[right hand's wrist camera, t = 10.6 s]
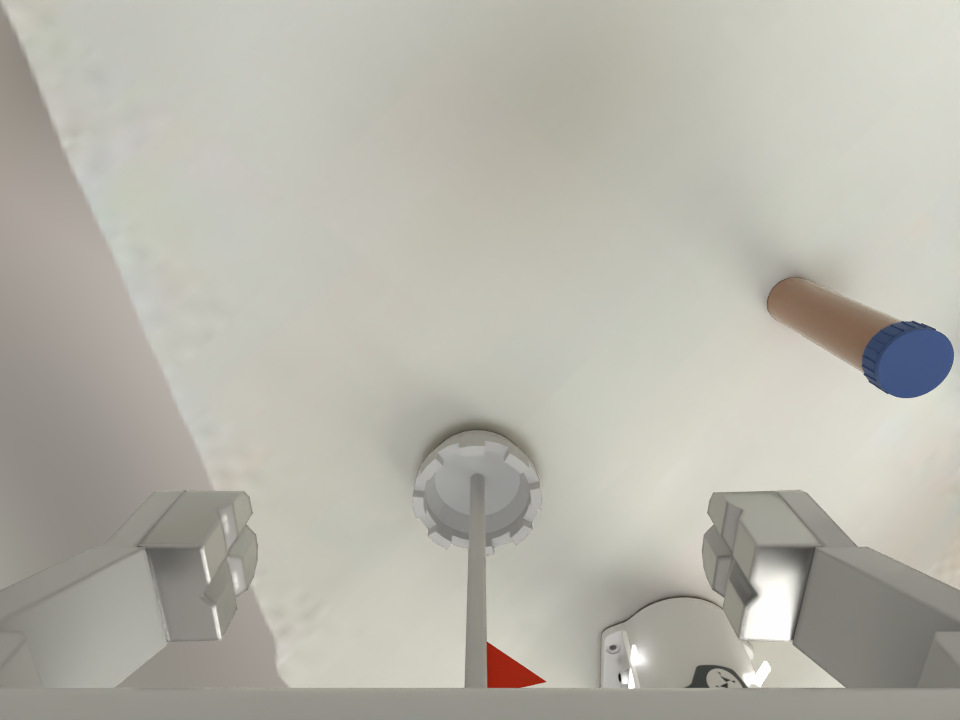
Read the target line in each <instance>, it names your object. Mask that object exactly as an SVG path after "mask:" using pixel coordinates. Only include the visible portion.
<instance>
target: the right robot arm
mask: <svg viewBox="0 0 960 720" xmlns="http://www.w3.org/2000/svg"><path fill="white" fill-rule="evenodd" d="M252 513H253V512H252V507H251V502H250V497H249V496H248V495H247V494H246V493H245V492H241V491H191V490H190V491H186V490H161V491H157V492H154V493H152V495H151V496H150V497H149V498H148V499H147V500H146V501H145V502H144V503H143V504H142V505H141V506H140V507H139V508H138V509H137V510H136V511H135V513H134V514H133V515H132V516H131V517H130V518H129V519H128V520H127V521H126V522H125V523H124V524H123V525H122V526H121V527H120V528H119V529H118V531H117V532H116V533H115V534H114V535H113V536H112V537H111V538H110V539H109V540H108V541H107V542H106V543H105V544H104V545H103V546H102V547H91V548H89V549H87V550H85V551H83V552H81V553H79V554H76V555H74V556H72V557H70V558H68V559H66V560H64V561H62V562H60V563H57V564H55V565H53V566H51V567H49V568H47V569H45V570H42V571H40V572H38V573H36V574H34V575H32V576H30V577H28V578H25V579H23V580H21V581H19V582H17V583H15V584H13V585H11V586H8V587H6V588H4V589H2V590H0V720H960V590H958V589H956V588H953V587H951V586H949V585H947V584H945V583H943V582H941V581H939V580H936V579H934V578H932V577H930V576H928V575H926V574H924V573H922V572H919V571H917V570H915V569H913V568H911V567H909V566H907V565H905V564H903V563H900V562H898V561H896V560H894V559H892V558H890V557H888V556H886V555H883V554H881V553H879V552H877V551H875V550H873V549H871V548H869V547H858V546H857V545H856V544H855V543H854V542H853V541H852V540H851V539H850V538H849V537H848V536H847V535H846V534H845V533H844V532H843V530H842V529H841V528H840V527H839V526H838V525H837V524H836V523H835V522H834V521H833V520H832V519H831V518H830V517H829V516H828V515H827V514H826V512H825V511H824V510H823V509H822V508H821V507H820V506H819V505H818V504H817V503H816V502H815V501H814V500H813V499H812V498H811V497H810V495H809V494H808V493H806V492H804V491H801V490H782V491H757V492H715V493H713V494H712V496H711V498H710V501H709V506H708V512H707V513H708V515H709V517H710V518H711V520H712V522H713V523H714V525H713V526H712V527H711V528H710V529H709V530H708V531H707V532H706V533H705V534H704V539H703V547H702V556H703V567H704V570H705V574H706V577H707V580H708V582H709V584H710V586H711V588H712V590H714V591H715V592H717V593H718V594H720V595H721V596H723V597H724V604H723V611H724V613H725V615H726V616H727V618H728V620H729V622H730V624H731V626H732V628H733V630H734V632H735V633H736V635H737V637H738V639H739V640H746V641H782V642H793V645H794V646H795V647H796V648H798V649H799V650H800V651H801V652H803V653H804V654H805V655H806V656H808V657H809V658H810V659H811V660H812V661H814V662H815V663H816V664H817V665H819V666H820V667H821V668H822V669H824V670H825V671H826V672H827V673H828V674H830V675H831V676H832V677H833V678H835V679H836V680H837V681H838V682H840V683H841V684H842V685H843V686H844V687H846V688H114V687H116V686H117V685H118V684H119V683H121V682H122V681H123V680H124V679H125V678H127V677H128V676H129V675H130V674H132V673H133V672H134V671H135V670H137V669H138V668H139V667H140V666H141V665H143V664H144V663H145V662H147V661H148V660H149V659H150V658H151V657H153V656H154V655H155V654H156V653H158V652H159V651H160V650H161V649H163V648H164V647H165V646H166V645H167V642H178V641H212V640H221V639H222V637H223V635H224V633H225V632H226V630H227V628H228V626H229V624H230V622H231V620H232V618H233V616H234V614H235V613H236V611H237V604H236V597H237V596H239V595H240V594H242V593H243V592H245V591H246V590H247V589H248V588H249V586H250V584H251V581H252V579H253V577H254V573H255V569H256V565H257V560H258V545H257V538H256V534H255V533H254V532H253V531H252V530H251V529H250V528H249V527H248V526H247V525H246V523H247V522H248V520H249V518H250V517H251V515H252Z"/></svg>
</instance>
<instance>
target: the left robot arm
mask: <svg viewBox="0 0 960 720" xmlns="http://www.w3.org/2000/svg"><path fill="white" fill-rule="evenodd" d="M753 657H754V652H753V649H752V647H751V645H750V644H749V643H748V642H747V641H746V640H739V639H738V637H737V635H736V633H735V632H734V630H733V628H732V626H731V624H730V622H729V620H728V618H727V616H726V615H725V613H724V611H723V609H721V608H720V607H718V606H717V605H715V604H713V603H711V602H708V601H705V600H702V599H697V598H688V597H681V598H671V599H666V600H662V601H659V602H656V603H654V604H651V605H649V606H647V607H645V608H644V609H642V610H641V611H639V612H638V613H637V614H635V615H634V616H633V617H631V618H630V619H629V620H627V621H626V622H623V623H620V624H618V625H615V626H612V627H610V628H608V629H606V630H605V631H604V632H603V633H602V643H601V686H600V688H761V684H762V682H763V681H764V679H765V678H766V676H767V675H768V673H769V671H770V670H771V669H770V667H769V665H768V663H767V662H765V661H764V663H763V664H762V666H761V667H760V669H759V671H758V672H757V674H756V673H755V671H754V668H753V666H752V663H751V660H752V659H753Z"/></svg>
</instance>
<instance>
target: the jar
mask: <svg viewBox="0 0 960 720" xmlns="http://www.w3.org/2000/svg"><path fill="white" fill-rule="evenodd" d="M767 306H768V311H769V313H770V315H771V316H772V317H773V318H774V319H775V320H777V321H779V322H780V323H782V324H783V325H785V326H787V327H788V328H790V329H792V330H793V331H795V332H797V333H798V334H800V335H802V336H803V337H805V338H806V339H808V340H810V341H811V342H813V343H815V344H816V345H818V346H820V347H821V348H823V349H825V350H826V351H828V352H830V353H831V354H833V355H834V356H836V357H838V358H839V359H841V360H843V361H844V362H846V363H848V364H849V365H851V366H853V367H854V368H856V369H858V370H859V371H861V372H862V373H864V372H863V369H862V367H861V365H862V356H863V352H864V350H865V348H866V346H867V344H868V342H869V341H870V340H871V339H872V337H873V336H874V335H875V334H877V333H878V332H879V331H880V330H881V329H883V328H885V327H887V326H889V325H890V324H894V323H898V322H901V320H899V319H897V318H894V317H892V316H890V315H887V314H885V313H883V312H880V311H878V310H876V309H873V308H871V307H869V306H866V305H864V304H862V303H859V302H857V301H855V300H852V299H850V298H848V297H845V296H843V295H841V294H838V293H836V292H834V291H831V290H829V289H826V288H824V287H822V286H819V285H817V284H815V283H812V282H810V281H808V280H805V279H803V278H799V277H792V278H788V279H785V280H783V281H781V282H780V283H778V284H777V285H776V286H775V287H774V288H773V289H772V291H771V292H770V295H769V297H768V302H767Z"/></svg>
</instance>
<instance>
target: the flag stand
mask: <svg viewBox="0 0 960 720" xmlns="http://www.w3.org/2000/svg"><path fill="white" fill-rule="evenodd" d="M541 505H542V496H541V490H540V484H539V479H538V474H537V472H536V470H535V467H534V465H533V464H532V462H531V461H530V459H529V458H528V456H526V455H525V454H524V453H523V452H522V451H521V450H520V449H519V448H518V447H517V446H516V445H514V444H513V443H512V442H511V441H510V440H508V439H507V438H505V437H504V436H502V435H499V434H496V433H494V432H489V431H484V430H471V431H465V432H461V433H458V434H456V435H453V436H451V437H450V438H448V439H446V440H445V441H444V442H443V443H441V444H440V445H439V446H438V447H437V448H436V449H435V450H433V451H432V452H431V453H430V454H429V455H428V456H427V458H426V459H425V460H424V462H423V463H422V464H421V467H420V469H419V471H418V473H417V477H416V482H415V487H414V493H413V509H414V513H415V517H416V518H417V517H420V519H421V521H422V522H423V523H424V524H425V526H426V527H427V528H428V529H429V531H428V537H429V538H430V539H431V540H433V541H434V542H435V543H436V544H438V545H439V546H441V547H443V548H445V549H448V547H449V545H450V544H453V545H455V546H458V547H463V548H469V553H468V588H467V622H466V657H465V688H522V687H526V686H531V685H535V684H539V683H544V682H546V681H545V680H543V679H542V678H540V677H539V676H537V675H536V674H534V673H533V672H531V671H530V670H528V669H527V668H525V667H524V666H522V665H521V664H519V663H518V662H516V661H515V660H513V659H512V658H510V657H509V656H507V655H506V654H504V653H503V652H502V651H500V650H499V649H497V648H496V647H494V646H493V645H491V644H490V643H488V642H487V633H486V555H493V554H494V547H496V546H499V545H502V544H505V543H507V542H509V541H511V540H512V541H513V542H514V543H515V544H516V545H517V544H518V543H520V542H521V541H522V540H523V539H525V538H526V537H527V536H528V534H529V533H530V532H531V531H532V530H533V528H532V521H533V520H534V518H535V516H536V514H537V512H538V509H541Z"/></svg>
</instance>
